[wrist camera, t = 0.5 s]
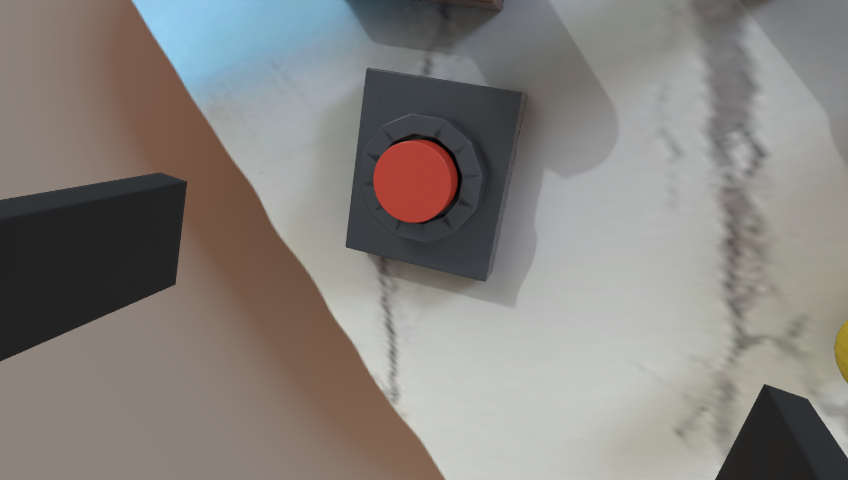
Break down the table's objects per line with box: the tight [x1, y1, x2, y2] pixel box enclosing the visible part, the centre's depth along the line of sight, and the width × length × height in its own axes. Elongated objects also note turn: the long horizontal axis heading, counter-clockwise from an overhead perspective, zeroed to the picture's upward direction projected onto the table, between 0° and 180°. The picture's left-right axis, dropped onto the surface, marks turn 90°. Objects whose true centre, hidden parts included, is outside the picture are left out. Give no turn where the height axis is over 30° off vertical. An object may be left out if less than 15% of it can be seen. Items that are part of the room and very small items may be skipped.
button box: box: [346, 68, 527, 282], centre depth 36 cm, size 12×10×4 cm
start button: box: [373, 140, 458, 223], centre depth 34 cm, size 5×5×2 cm
